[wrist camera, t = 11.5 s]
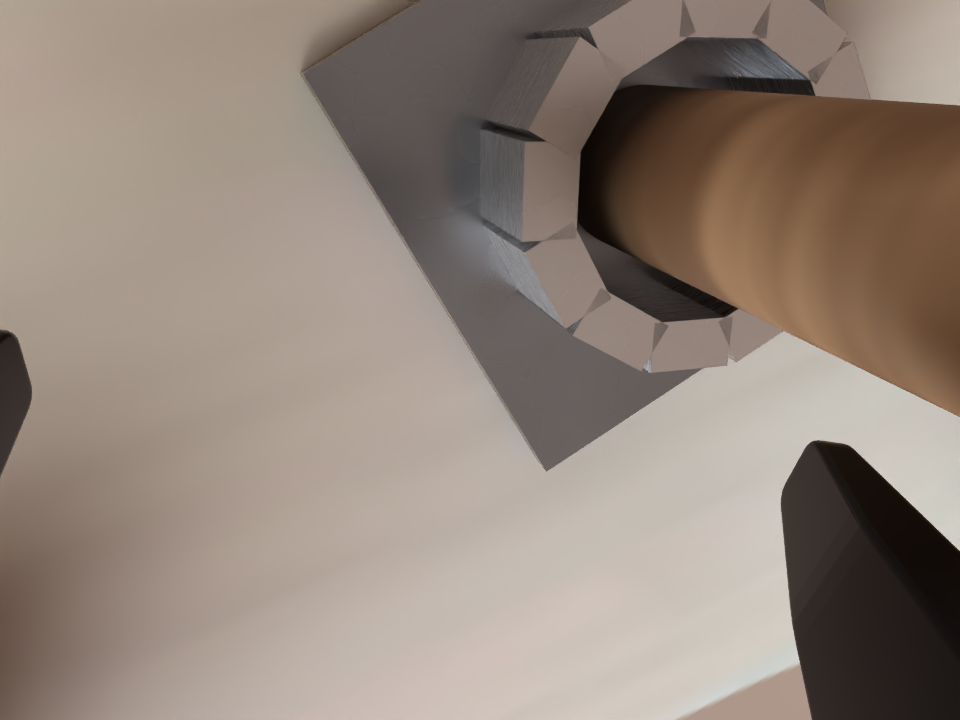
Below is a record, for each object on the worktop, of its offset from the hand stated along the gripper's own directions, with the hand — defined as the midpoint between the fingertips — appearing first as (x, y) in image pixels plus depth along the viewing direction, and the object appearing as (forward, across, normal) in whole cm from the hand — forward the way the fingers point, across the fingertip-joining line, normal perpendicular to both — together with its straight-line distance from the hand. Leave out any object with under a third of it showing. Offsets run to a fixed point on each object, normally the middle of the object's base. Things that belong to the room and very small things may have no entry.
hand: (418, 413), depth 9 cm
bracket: (+13, -4, +3) cm, 14 cm away
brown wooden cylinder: (+12, -4, +2) cm, 13 cm away
